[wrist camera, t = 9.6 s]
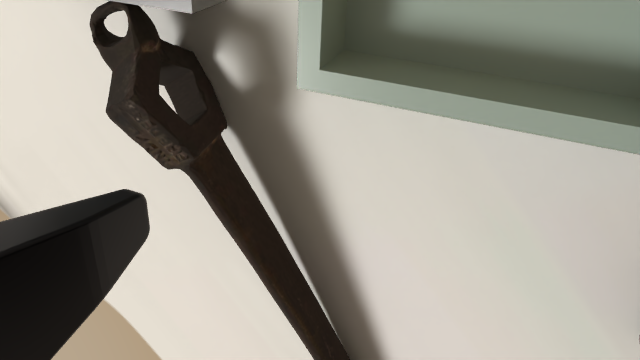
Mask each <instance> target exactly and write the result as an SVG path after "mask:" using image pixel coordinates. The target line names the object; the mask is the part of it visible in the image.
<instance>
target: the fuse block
mask: <svg viewBox="0 0 640 360" xmlns="http://www.w3.org/2000/svg"><path fill="white" fill-rule="evenodd" d="M108 1H115V2H121V3H127V4H134V5H140V6H146V7H153V8H159V9H166V10H172V11H178V12H185V13H191V14H193V13H195V12H198V11H200V10H203V9H206V8H208V7H211V6H213V5H216V4H218V3H221V2H224V1H226V0H108Z"/></svg>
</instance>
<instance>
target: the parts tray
mask: <svg viewBox="0 0 640 360" xmlns="http://www.w3.org/2000/svg"><path fill="white" fill-rule="evenodd" d="M297 89H302V90H307V91H312V92H317V93H323V94H328V95H333V96H338V97H343V98H349V99H354V100H359V101H364V102H369V103H374V104H380V105H385V106H390V107H395V108H400V109H406V110H411V111H416V112H421V113H426V114H431V115H437V116H442V117H447V118H452V119H457V120H463V121H468V122H473V123H478V124H483V125H489V126H494V127H499V128H504V129H509V130H514V131H520V132H525V133H530V134H535V135H540V136H546V137H551V138H556V139H561V140H566V141H571V142H577V143H582V144H587V145H592V146H597V147H603V148H608V149H613V150H618V151H623V152H628V153H634V154H639V155H640V0H299V7H298V56H297Z"/></svg>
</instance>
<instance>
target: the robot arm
mask: <svg viewBox="0 0 640 360" xmlns="http://www.w3.org/2000/svg"><path fill="white" fill-rule="evenodd" d="M149 230H150V225H149V217H148V209H147V201H146V198H145V197H144V195H142V194H141V193H138V192H134V191H131V190H127V189H122V190H118V191H115V192H111V193H107V194H103V195H100V196H96V197H92V198H88V199H84V200H81V201H77V202H73V203H69V204H66V205H62V206H58V207H54V208H51V209H47V210H43V211H39V212H35V213H32V214H28V215H24V216H20V217H17V218H13V219H9V220H6V221H2V222H0V360H51V359H52V358H53V356H54V355H55V354H56V353H57V352H58V351H59V350H60V349H61V347H62V346H63V345H64V344H65V343H66V342H67V340H68V339H69V338H70V337H71V336H72V335H73V334H74V333H75V331H76V330H77V329H78V328H79V327H80V326H81V324H82V323H83V322H84V321H85V320H86V319H87V318H88V317H89V315H90V314H91V313H92V312H93V311H94V310H95V308H96V307H97V306H98V305H99V304H100V302H101V301H102V300H103V299H104V298H105V296H106V295H107V294H108V292H109V291H110V290H111V288H112V287H113V286H114V284H115V283H116V281H117V280H118V279H119V277H120V276H121V274H122V273H123V272H124V270H125V269H126V267H127V266H128V265H129V263H130V262H131V260H132V259H133V258H134V256H135V255H136V253H137V252H138V251H139V249H140V248H141V246H142V245H143V244H144V242H145V241H146V239H147V237H148V234H149ZM639 342H640V336H639Z"/></svg>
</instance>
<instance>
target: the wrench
mask: <svg viewBox="0 0 640 360" xmlns="http://www.w3.org/2000/svg"><path fill="white" fill-rule="evenodd" d="M122 10H124V11H125V12H126V14H127V16H128V24H129V25H128V31H127V35H126V36H125V37H118V36H116V35H114V34H112V33H111V32H109V31H108V30H107V29H106V27H105V25H104V19H106V17H107V16H108V15H109V14H112V13H114V12H117V11H122ZM90 28H91V31H92V37H93V42H94V43H95V45H96V46H97V48H98V50H99V52H100V54H101V56H102V58H103V59H104V61H105V62H106V63H107V65H108V66H109V67H110V68H111V70H112V72H113V73H112V79H111V85H110V91H109V97H108V103H107V107H106V113H107V115H108V116H109V118H110V119H111V120H112V121H113V122H114V123H115V124H116V125H118V126H119V127H120V128H121V129H122V130H123V131H124V132H125V133H126V134H127V135H128V136H130V137H131V138H132V139H133V140H134V141H135V142H137V143H138V144H139V145H141V146H142V147H143V148H144V149H145V150H146V151H147V152H148V153H149V154H150V155H151V156H152V157H154V158H155V159H156V160H157V161H158V162H159V163H160V164H161V165H162V166H163V167H165V168H167V169H181V170H182V171H184V172H185V173H186V174H187V175H188V176H189V177H190V178H191V179H192V181H193V182H194V184H195V185H196V186H197V188H198V189H199V190H200V192H201V193H202V195H203V196H204V197H205V199H206V200H207V202H208V203H209V205H210V206H211V208H212V209H213V211H214V212H215V214H216V215H217V217H218V218H219V220H220V221H221V222H222V224H223V225H224V227H225V228H226V230H227V231H228V232H229V234H230V235H231V236H232V238H233V239H234V241H235V242H236V243H237V245H238V246H239V248H240V249H241V251H242V252H243V254H244V255H245V256H246V258H247V259H248V261H249V262H250V264H251V265H252V267H253V268H254V270H255V271H256V273H257V274H258V276H259V277H260V279H261V280H262V282H263V283H264V285H265V286H266V288H267V290H268V291H269V293H270V294H271V296H272V297H273V299H274V300H275V301H276V303H277V304H278V306H279V307H280V309H281V310H282V312H283V313H284V315H285V316H286V318H287V319H288V321H289V322H290V324H291V325H292V327H293V328H294V330H295V331H296V333H297V334H298V336H299V337H300V339H301V340H302V342H303V343H304V345H305V346H306V348H307V349H308V351H309V352H310V354H311V355H312V357H313V359H314V360H350V359H349V357H348V355H347V353H346V351H345V349H344V347H343V345H342V344H341V342H340V340H339V338H338V337H337V335H336V333H335V331H334V329H333V328H332V326H331V324H330V322H329V321H328V319H327V317H326V315H325V313H324V312H323V310H322V308H321V306H320V304H319V303H318V301H317V299H316V297H315V296H314V294H313V292H312V290H311V288H310V287H309V285H308V283H307V281H306V280H305V278H304V276H303V274H302V273H301V271H300V269H299V268H298V266H297V264H296V262H295V260H294V259H293V257H292V255H291V253H290V252H289V250H288V248H287V246H286V244H285V243H284V241H283V239H282V237H281V236H280V234H279V232H278V231H277V229H276V227H275V225H274V224H273V222H272V220H271V219H270V217H269V215H268V214H267V212H266V210H265V209H264V207H263V205H262V204H261V202H260V200H259V199H258V197H257V195H256V194H255V192H254V191H253V189H252V188H251V185H250V184H249V182H248V180H247V179H246V177H245V176H244V174H243V172H242V171H241V169H240V167H239V166H238V164H237V162H236V161H235V159H234V157H233V156H232V154H231V152H230V150H229V149H228V147H227V145H226V144H225V142H224V140H223V138H222V136H221V132H223V130H224V129H226V128H227V126H228V125H227V122H226V119H225V117H224V114H223V112H222V110H221V107H220V105H219V102H218V100H217V97H216V95H215V92H214V89H213V86H212V84H211V82H210V81H209V79H208V77H207V76H206V74H205V72H204V70H203V68H202V67H201V65H200V63H199V61H198V60H197V58H196V56H195V55H194V53H193V52H192V51H188V50H186V49H183V48H181V47H179V46H176V45H172V44H170V43H168V42H166V41H163V40H161V39H160V37H159V35H158V32H157V30H156V27H155V25H154V24H153V22H152V21H151V19H150V18H149V17H148V15H147V14H146V13H145V12H144V11H143V9H142V8H141V7H140V6H138V5H134V4H127V3H121V2H115V1H109V2H107V3H105V4H103V5H101V6H99V7H97V8H96V10H95V11H94V12H93V13H92V15H91V19H90ZM159 84H160V85H163V86H165V88H166V90H167V92H168V94H169V96H170V98H171V100H172V103H173V105H174V107H175V110H176V112H177V114H178V115H177V114H176V113H175V112H174V111H173V110H172V109H171V107H170V106H169V105H168V104H167V103H166V102H165V101H164V99H163V98H162V97H161V96H160V95H159Z"/></svg>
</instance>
